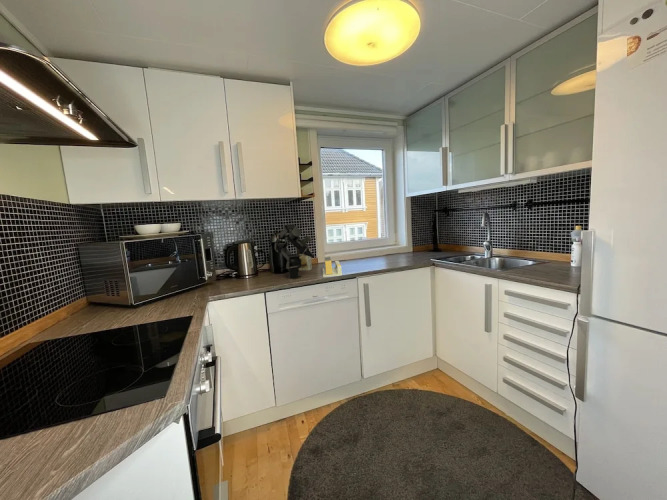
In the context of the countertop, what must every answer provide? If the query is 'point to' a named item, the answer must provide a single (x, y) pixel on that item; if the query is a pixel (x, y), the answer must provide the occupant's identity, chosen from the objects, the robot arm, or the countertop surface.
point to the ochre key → (328, 267)
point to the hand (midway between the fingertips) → (313, 257)
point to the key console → (334, 270)
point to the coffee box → (305, 261)
